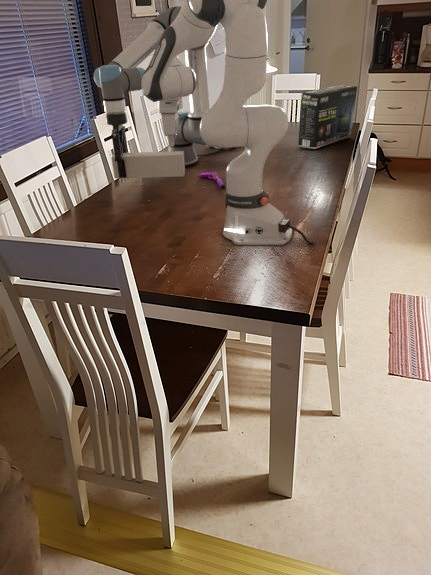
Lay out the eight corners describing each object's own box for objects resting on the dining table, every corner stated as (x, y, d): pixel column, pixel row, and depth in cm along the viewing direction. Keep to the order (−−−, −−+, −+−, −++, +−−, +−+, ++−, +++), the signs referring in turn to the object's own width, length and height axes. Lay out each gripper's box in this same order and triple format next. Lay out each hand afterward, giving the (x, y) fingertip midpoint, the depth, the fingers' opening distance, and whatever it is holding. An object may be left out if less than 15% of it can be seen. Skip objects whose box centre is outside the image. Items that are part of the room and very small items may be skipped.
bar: (185, 172, 180) (183, 151, 176) (184, 176, 176) (182, 154, 172) (117, 174, 181) (114, 153, 177) (114, 178, 177) (111, 156, 173)
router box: (314, 151, 231) (318, 94, 217) (296, 148, 237) (299, 92, 224) (352, 138, 251) (358, 85, 238) (335, 135, 258) (340, 83, 245)
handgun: (199, 176, 203) (199, 172, 202) (216, 174, 204) (216, 170, 203) (207, 191, 185) (207, 186, 184) (226, 189, 186) (225, 184, 185)
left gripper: (110, 108, 175) (119, 168, 187) (99, 117, 159) (109, 182, 171) (130, 107, 174) (137, 167, 186) (120, 117, 159) (129, 182, 171)
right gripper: (164, 98, 173) (167, 135, 181) (157, 109, 156) (161, 150, 163) (181, 97, 173) (183, 135, 180) (176, 108, 156) (179, 149, 163)
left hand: (124, 174), depth 179 cm, fingers closed on bar, 5 cm apart
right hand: (173, 142), depth 172 cm, fingers open, 8 cm apart
